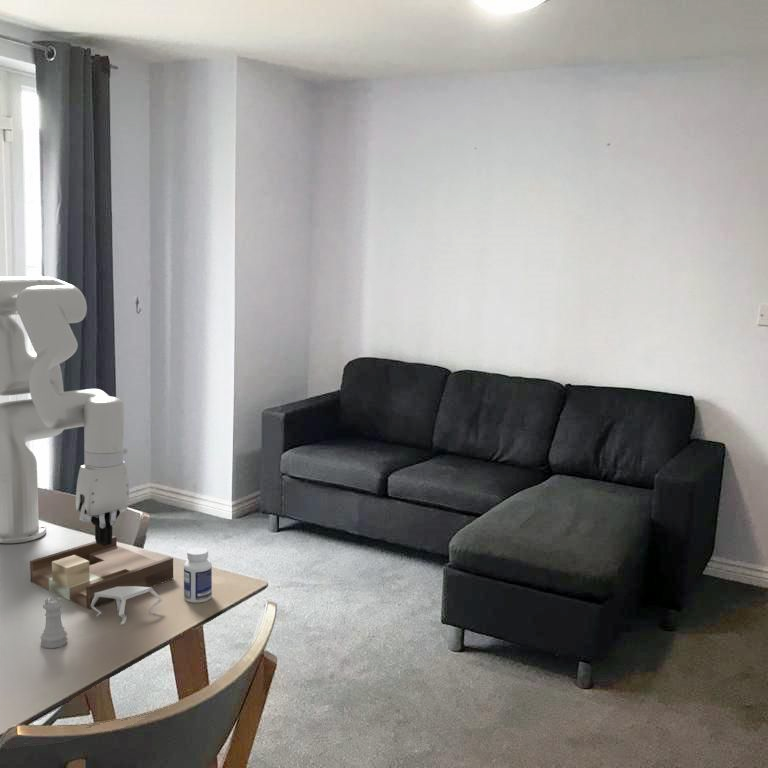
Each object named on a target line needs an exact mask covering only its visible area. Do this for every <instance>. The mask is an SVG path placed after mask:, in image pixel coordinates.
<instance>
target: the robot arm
mask: <svg viewBox="0 0 768 768" xmlns="http://www.w3.org/2000/svg"><path fill="white" fill-rule="evenodd" d="M87 311H88V306H87V300H86V297H85V296H84V294H83V292H82V291H81V290H80V288H78V287H77V286H75V285H73V284H71V283H68V282H66V281H64V280H61V279H57V278H55V277H51V276H38V275H37V276H36V275H35V276H34V275H32V276H31V275H30V276H26V275H25V276H15V275H12V276H11V275H9V276H0V396H3V397H4V396H5V397H6V396H8V397H9V396H18V395H25V394H29V395H30V399H19V400H13V401H6V402H4V401H3V402H2V403H1V402H0V544H20V543H27V542H30V541H34V540H37V539H39V538H41V537H43V536H44V535H45V534H46V532H47V527H46V525H45V524H43V523H41V522H40V520H39V519H40V518H39V493H38V492H39V490H38V486H39V483H38V465H37V464H38V462H37V458H36V456H35V454H34V453H33V451H32V450H31V449H30V448H29V447H28V445H27V444H26V443H27V442H30V441H31V442H32V441H35V440H42V439H47V438H48V439H49V438H53V437H57V436H58V435H60V434H62V433H63V432H64V430H71V429H75V428H81V427H84V428H83V430H84V431H83V433H84V434H83V436H84V437H83V439H84V440H83V441H84V442H83V444H84V446H83V448H84V450H83V452H84V457H83V458H84V460H83V461H84V462H83V463H84V464H82V465H80V467H79V470H78V475H77V481H76V489H75V490H76V491H75V510H76V511H77V512H80V513H79V518H78V519H79V521H80V522H82V523H90V524H92V525H93V526H94V531H95V532H94V534H95V535H94V538H95V539H94V540H95V541H96V543H98V544H100V545H102V546H107V545H110V544H112V536H113V526H114V525H115V524H116V520H117V519H118V517H119V515H121V514H123V513H125V512H126V511H127V510H128V505H129V502H130V482H129V472H128V468H127V467H128V466H127V464H126V461H124V455H127V454H128V449H127V447H124V437H125V436H124V431H125V430H124V429H125V428H124V426H125V425H124V423H125V419H124V416H125V408H124V407H125V406H124V402H123V400H122V399H121V398H118V397H117V396H112V395H111V396H110V395H109V394H108V393H107V392H105V391H104V390H102V389H100V388H87V389H77V390H69V391H64V384H63V383H64V381H63V373H62V368H61V366H60V364H62V363H64V362H65V361H67V360H69V358H71V357H73V355H74V354H75V353H76V352H77V350H78V348H79V347H78V345H79V343H78V341H77V338H76V336H75V334H74V331H73V329H72V328H71V325H70V324H76V323H80V322H82V321H83V320H84V318H85V317H86V316H87ZM12 315H16V316H19V317H20V320H21V322H22V324H23V328H24V329H25V332H26V333H27V336H28V339H29V340H30V344H31V345H32V347H33V350H34V351H27V348H26V339H25V338H26V337H25V333H24V330H23V328H22V327H21V326H20V324H19V323H18V322H17V321H16V320H15V319H14V318H13V317H12Z"/></svg>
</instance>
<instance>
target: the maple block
mask: <svg viewBox="0 0 768 768" xmlns="http://www.w3.org/2000/svg"><path fill="white" fill-rule="evenodd" d="M89 580H90V572H89V561H88V560H86V559H83V558H81V557H78V556H76V555H72V556H69V557H65V558H62V559H59V560H56V561H53V562H52V581H53V582H56V583H58V584H60V585H62V586H65V587H67V588H68V587H71V586H74V585H77V584H80V583H83V582H86V581H89Z"/></svg>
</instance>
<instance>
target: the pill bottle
mask: <svg viewBox="0 0 768 768" xmlns="http://www.w3.org/2000/svg"><path fill="white" fill-rule="evenodd" d="M212 568H213V567H212V562H211V560H210V559H209V550H208V549H207V548H205V547H194V548H190V549H188V550H187V560H186V561H185V562H184V564H183V597H184V600H185V601H186V602H189V603H193V604H194V603H195V604H196V603H197V604H198V603H205V602H208V601H209V600H210V599H211V598H212V595H213V593H212V591H213V590H212V589H213V588H212V587H213V585H212V582H213V581H212V578H213V575H212V572H213V571H212V570H213V569H212Z"/></svg>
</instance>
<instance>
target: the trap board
mask: <svg viewBox="0 0 768 768" xmlns="http://www.w3.org/2000/svg"><path fill="white" fill-rule="evenodd" d="M72 555H76V556H78V557H81V558H83V559H86V560H88V561H89V572H90V580H89V581H86V582H83V583H80V584H77V585H74V586H71V587H68V588H67V587H65V586H62V585H60V584H58V583H56V582H53V581H52V562H53V561H56V560H59V559H62V558H65V557H69V556H72ZM29 568H30V582H31V583H32V584H34V585H36V586H39V587H41V588H43V589H45V590H48V591H50V592H51V593H53V594H55V595H57V596H60V597H62V598H64V599H67V600H69V601H70V602H73V603H74V604H77V605H78V606H81V607H83V608H85V609H88V610H94V609H93V608H92V607H91V603H92V600H93V598H94V596H95V595H94V593H97V592H100V591H104V590H107V589H111V588H115V587H124V586H140V587H150V588H152V587H155V586H158V585H160V584H163V583H165V581H166V582H168V580H169V581H170V579H171V580H173V579H174V558H173V557H171V556H170V557H166V558H164V559H163V558H162V559H161V560H155V559H153V558H150V557H148V556H146V555H142V554H139V553H138V552H134V551H132V550H130V549H127V548H125V547H121V546H118V545H117V536H115V535H112V544H110V545H107V546H102V545H100V544H98V543H96V540H95V541H92V542H89V543H85V544H81V545H78V546H75V547H71V548H69V549H65V550H62V551H58V552H55V553H51V554H48V555H45V556H42V557H38V558H35V559H32V560H30V561H29ZM172 578H173V579H172ZM162 582H163V583H162ZM157 584H158V585H157ZM154 585H155V586H154ZM151 586H152V587H151ZM115 601H116V599H113V598H106V597H99V598H98V600H97V601H96V603H95V604H94V607H95V608H96V609H97V608H99V607H101V606H103V605H106V604H109V603H112V602H115Z"/></svg>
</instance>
